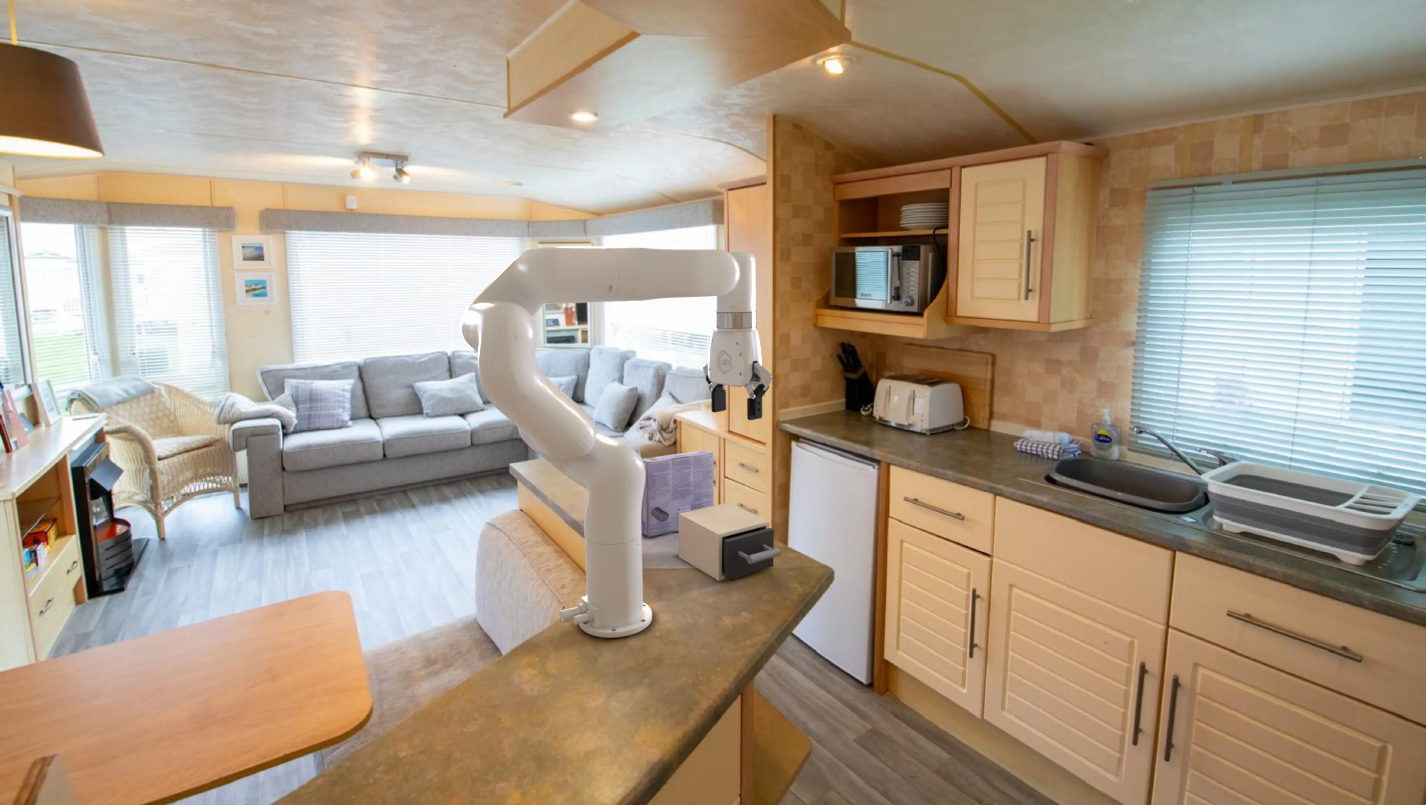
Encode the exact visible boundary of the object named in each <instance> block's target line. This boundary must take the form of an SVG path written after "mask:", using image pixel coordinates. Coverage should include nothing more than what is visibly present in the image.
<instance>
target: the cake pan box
mask: <svg viewBox="0 0 1426 805" xmlns="http://www.w3.org/2000/svg"><path fill="white" fill-rule="evenodd" d="M642 461H643V463H644V466H645V472H646V478H645V486H644V492H643V498H642V509H641V532H642V534H643V535H645V536H646V537H647V538H652V537H656V536H661V535H666V534H670V533H677V532H679V513H683V512H688V511H692V510H697V509H701V508H706V507H710V506H714V504H715V503H714V498H715V496H714V478H715V477H714V476H715V475H714V474H715V472H714V470H715V467H714V466H715V465H714V464H715V454H714V452H713V451H708V450H698V451H692V452H691V451H690V452H684V453H675V454H674V453H673V454H668V455H660V456H653V457H646V458H642Z"/></svg>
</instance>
